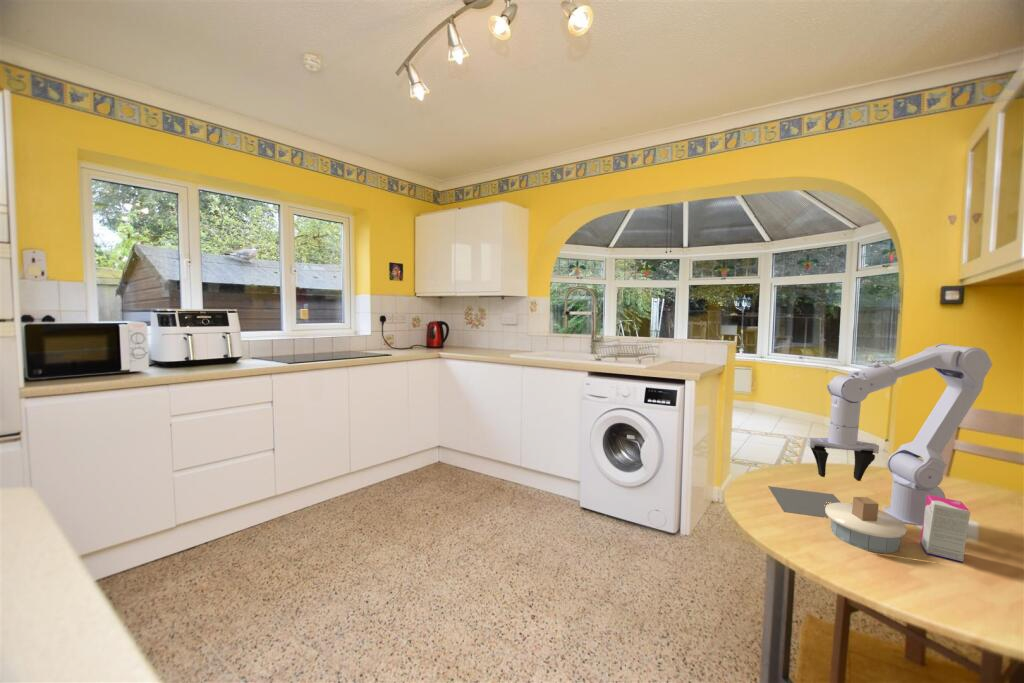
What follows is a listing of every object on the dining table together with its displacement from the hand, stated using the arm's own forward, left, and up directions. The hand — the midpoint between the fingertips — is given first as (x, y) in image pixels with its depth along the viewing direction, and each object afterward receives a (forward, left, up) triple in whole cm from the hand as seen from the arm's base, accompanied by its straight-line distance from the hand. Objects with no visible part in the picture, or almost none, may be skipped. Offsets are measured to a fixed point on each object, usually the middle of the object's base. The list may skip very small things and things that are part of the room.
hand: (839, 477), depth 111 cm
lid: (-1, +11, -6) cm, 12 cm away
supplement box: (-15, +13, -10) cm, 22 cm away
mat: (+4, -5, -10) cm, 12 cm away
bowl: (-2, +11, -10) cm, 15 cm away
